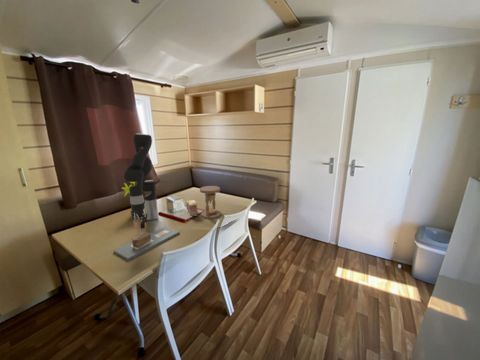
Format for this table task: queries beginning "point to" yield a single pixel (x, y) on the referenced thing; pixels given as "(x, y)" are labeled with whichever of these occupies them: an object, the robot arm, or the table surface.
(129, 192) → the daffodil flowers
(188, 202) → the stack of blocks
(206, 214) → the hourglass
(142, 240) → the walnut brick
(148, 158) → the robot arm
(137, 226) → the terracotta cube
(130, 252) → the board
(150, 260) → the table surface
